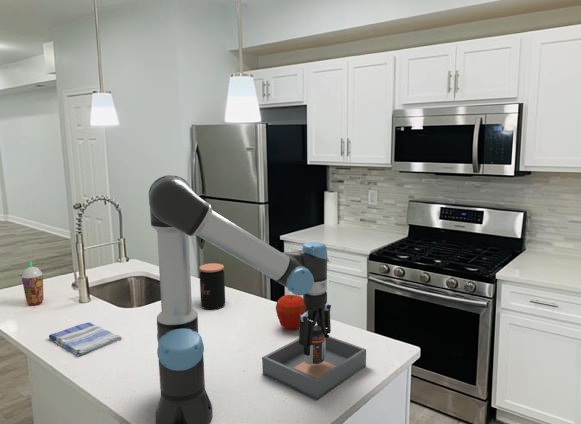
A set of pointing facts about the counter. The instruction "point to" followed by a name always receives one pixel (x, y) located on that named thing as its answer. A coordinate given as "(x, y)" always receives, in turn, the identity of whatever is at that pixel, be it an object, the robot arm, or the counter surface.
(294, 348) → the bin
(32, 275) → the smoothie
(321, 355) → the supplement bottle
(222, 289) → the coffee jar
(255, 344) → the counter surface
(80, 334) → the dish towel
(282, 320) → the apple
